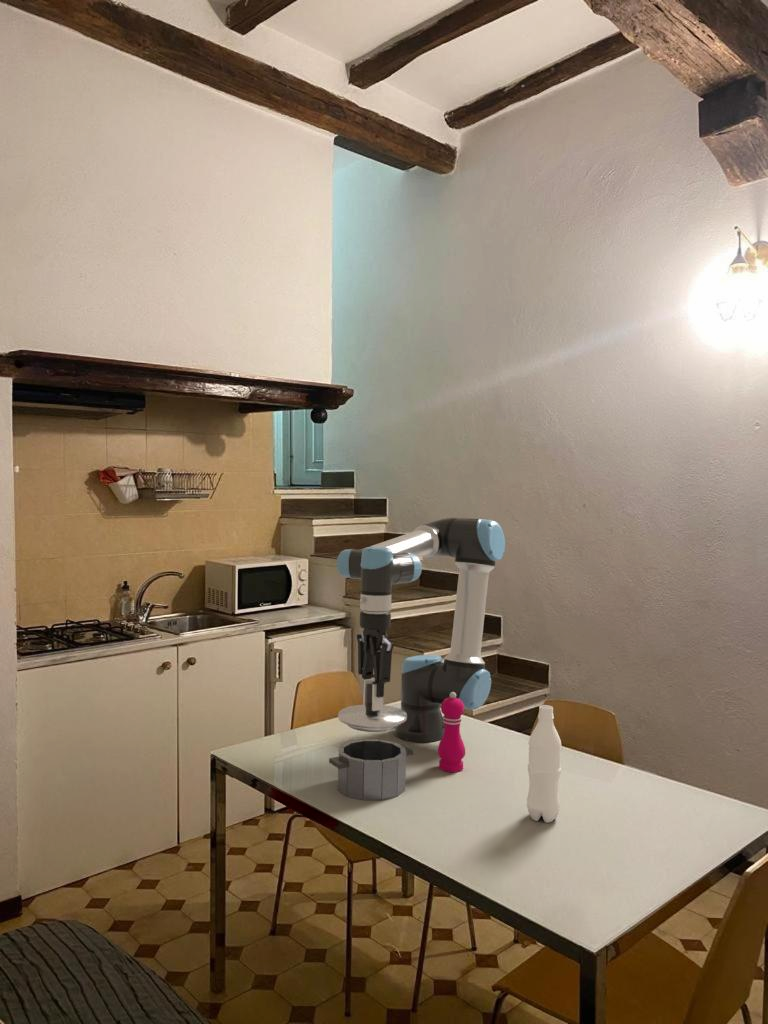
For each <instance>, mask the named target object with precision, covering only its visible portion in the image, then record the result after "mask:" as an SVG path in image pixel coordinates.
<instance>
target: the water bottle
mask: <svg viewBox="0 0 768 1024" xmlns="http://www.w3.org/2000/svg"><path fill="white" fill-rule="evenodd" d="M538 711H539V712H538V715H537V718H538V720H537V724H536V725H535V727H534V729H533V730H532V732H531V734H530V737H529V740H528V745H529V747H528V764H527V771H528V772H527V773H528V777H529V778H528V780H529V782H528V783H529V785H528V786H529V787H528V793H527V796H526V808H527V811H528V813H529V816H530V818H531V819H532V820H533V821H535V822H538V821H539V820H540V818H541V817H542V819H543V821H544V823H545V824H546V823H551V822H553V820H556V818H557V817H558V815H559V812H560V803H561V802H560V796H559V780H560V776H561V771H562V768H561V757H562V756H561V753H562V741H561V738H560V736H559V732H558V730H557V729H556V727H555V724H554V719H555V717H554V707H553V706H551V705H547V704H543V705H541V704H540V705H539V709H538Z"/></svg>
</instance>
